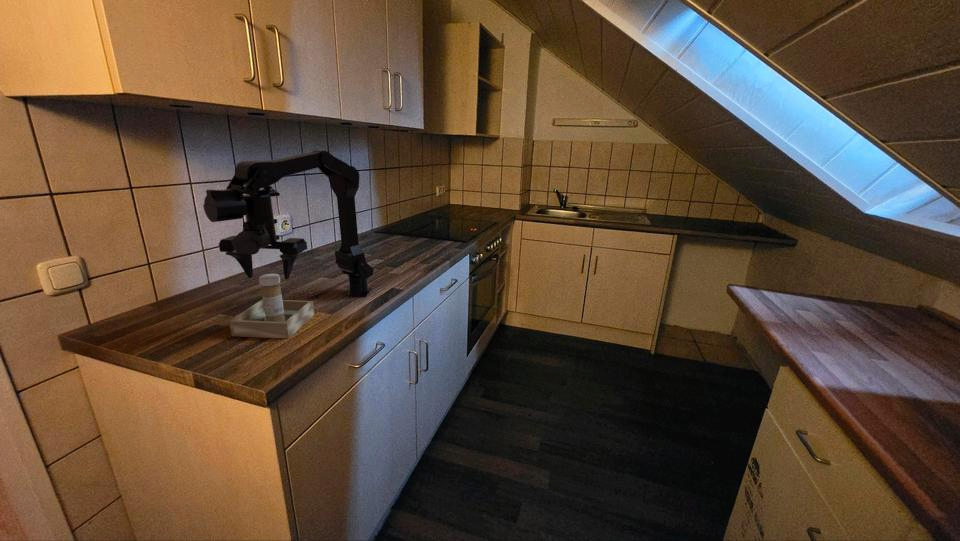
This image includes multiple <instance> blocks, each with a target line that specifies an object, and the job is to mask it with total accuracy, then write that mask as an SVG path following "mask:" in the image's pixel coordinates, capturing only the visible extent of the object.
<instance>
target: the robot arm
mask: <svg viewBox="0 0 960 541" xmlns="http://www.w3.org/2000/svg"><path fill="white" fill-rule="evenodd" d="M315 169H318V170H319V171H320V172H321V174H323V175H324V176H326V177H327V178H328V183H329V186H330V189H332V192H333V193H334V195H335V197H336V200H337V201H336V203H337V211H338V223H339V231H340V232H339V234H340V241H341V244H340V246H339V249H338V250H335V251H334V257H335V262H334V263H335V264H337V267H338V268H339V269H340V270H341V273H342V274H343V275H346V276H348V287H349V290H348V291H347V293H346V294H345V296H346V297H364V298H365V297H367V296H368V295H369V294H370V292H372V289H373V288H372V287H369V282H368V279H369V278H371V277H372V276H373V275H374V270H375V269H374V267H372V266H371V265H369V263H367V260H366V254H365V252H364V250H363V249H362V247H361V245H360V243H359V233H358V232H359V231H358V223H357V222H358V221H357V220H358V219H357V208H356V195H357V192H358V190H359V188H360V172H359V170H358V169H357V168H356V167H355V166H353V165H349V164H348V163H346V162H345V161H343V160H341V159H339V158H338V157H336V156H334V155H333V154H332V153H330V152H328V151H327V150H320V149H319V150H317V149H313V150H311V152H306V153H301V154H296V155H292V156H288V157H283V158H279V159H275V160H274V159H273V160H244V161H240V162H238V163H237V164H236V166H235V168H234V174H233V177H232V178H231V180H230V182H229V183H228V184H227V186H226V189H206V191H205V194H206V196H204V199H203V200H204V202H203V204H202V205H203V210H204V213H205V215H206V217H207V219H208V220H209V221H210V222H211V223H218V222H225V221H233V220H240V219H243V218H244V217H245V221H243V222H242V231H240V232H238V233H237V235H231V236H227V237H225V238H222V239H220V241H219V242H218V248H219V252H220V253H225V255H226V256H230V257H233V259H235V260H236V261H237V262H238V263H239V265H240V267H241V269H243V270H242V271H243V272H244V274H245V275H246V276H247V278H248V279H251V278H253V274H254V271H253V270H254V268H253V255H256V254H258V253H259V251H260V250H261V249H262V250H265V249H266V250H279V252H280V253H281V254H279V258H280V260H282V268H283V276H284V280H285V281H287V280H289V278H290V276H291V273H292V270H293V267H294V264H295V261H296V260H297V257H298V255H299V254H301V253H303V252H304V251H306V250H308V242H307V241H306V240H305V238H300V237H299V238H298V237H297V238H296V237H289V238H287V239H284V240H282V241H278V240H280V235H279V234H277V233H276V226H275V224H278V218H275V217H274V210H273V204H272V203H273V202H272V197H280V196H281V193H280V192H278V191H277V190H275V189H274V188H273V187H272V185H275V184H276V183H278V182H279V181H281V180H282V179H283V178H285V177H288V176H292V175H295V174H299V173H302V172H307V171H310V170H315Z"/></svg>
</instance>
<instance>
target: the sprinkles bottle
mask: <svg viewBox="0 0 960 541" xmlns="http://www.w3.org/2000/svg"><path fill="white" fill-rule="evenodd" d="M258 282H259V285H260V288H261V294H262V295H261V296H262V299H263V304H264V310H265V315H266V321H272V322H286V321H287V319H285V316H284V308H283V301H282V300H283V294H282V290H281V289H282V288H281V278H280V274H278V273H267V274H262V275H260V276H258Z"/></svg>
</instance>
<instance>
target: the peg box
mask: <svg viewBox="0 0 960 541" xmlns="http://www.w3.org/2000/svg"><path fill="white" fill-rule="evenodd" d="M282 301H283V308H284V316H285V320H286V322H272V321H266V315H265V310H264V304H263V298H262V299H260V300H259V301H257V302H256V303H254V304H253V305H251V306H250V307H248V308H247V309H245V310H244V311H242V312H241V313H239V314H238V315H236V316H235V317H233V318H232V319H230V320H229V321H228V322H229V328H230V334H231V337H242V338H243V337H245V338H247V337H248V338H264V339H265V338H266V339H267V338H269V339H290V338H291V337H292V336H293V335H294V334H296V332H297V331H299V330H300V329H301V328H302V327H303V326H304V325H305V324H306V323H308V321H309V320H310V319H311V318H312V317H313V316H314V315H315V309H314V308H315V307H314V301H313V300H295V299H294V300H292V299H282Z"/></svg>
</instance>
